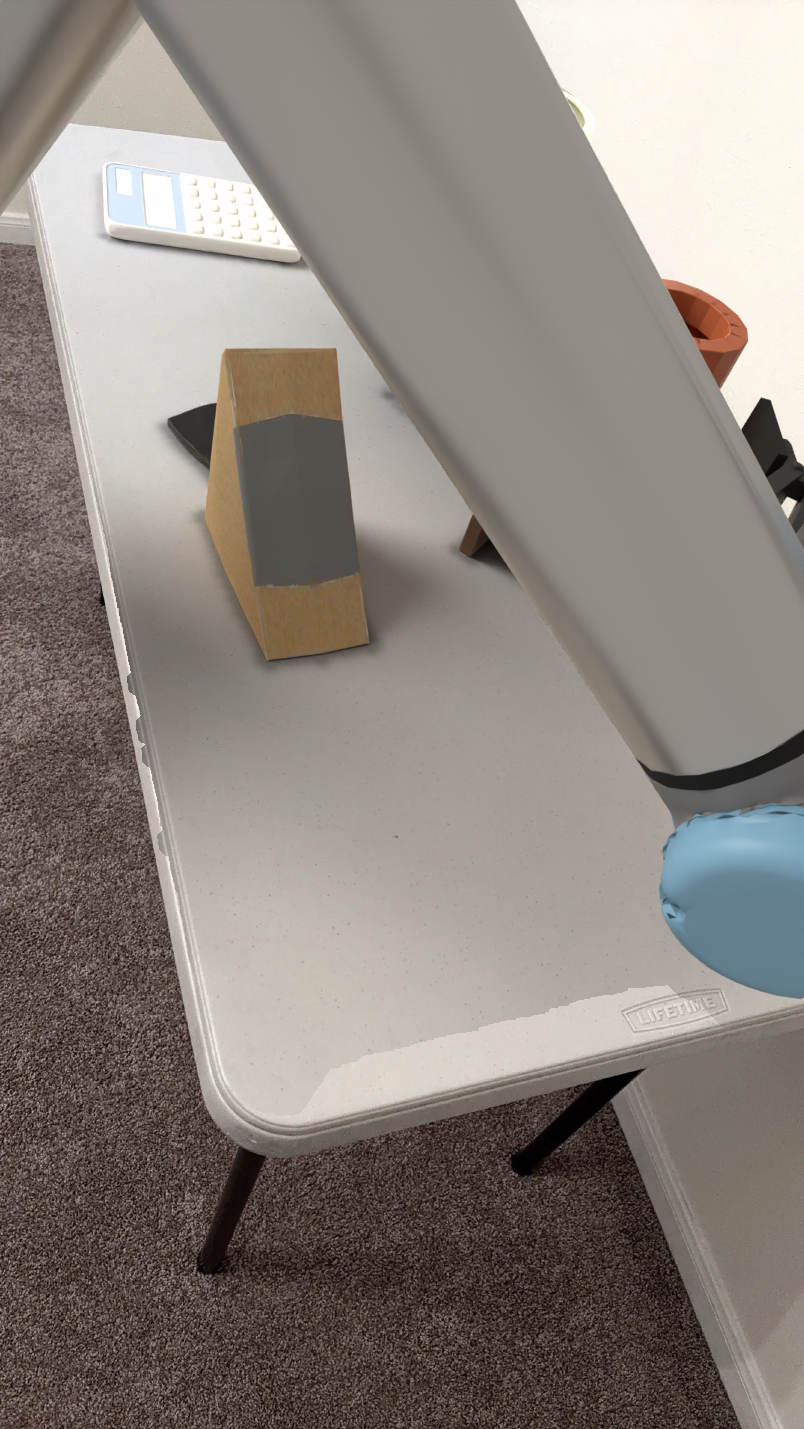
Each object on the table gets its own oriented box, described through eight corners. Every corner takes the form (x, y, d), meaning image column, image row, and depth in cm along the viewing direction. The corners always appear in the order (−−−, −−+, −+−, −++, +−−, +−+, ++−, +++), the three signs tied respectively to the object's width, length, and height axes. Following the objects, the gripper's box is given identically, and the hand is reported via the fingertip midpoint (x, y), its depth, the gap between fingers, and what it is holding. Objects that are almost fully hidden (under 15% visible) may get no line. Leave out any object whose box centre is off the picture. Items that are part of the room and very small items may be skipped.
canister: (545, 447, 75) (609, 302, 66) (593, 404, 80) (658, 265, 71) (643, 507, 73) (723, 367, 64) (685, 459, 79) (764, 324, 70)
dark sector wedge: (347, 448, 87) (350, 433, 86) (215, 487, 79) (217, 471, 78) (293, 393, 90) (296, 378, 89) (162, 425, 82) (163, 409, 81)
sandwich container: (263, 663, 69) (298, 500, 58) (199, 516, 77) (219, 346, 65) (372, 645, 73) (426, 488, 62) (301, 506, 81) (337, 343, 69)
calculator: (301, 266, 104) (305, 249, 102) (104, 238, 98) (104, 219, 96) (286, 203, 112) (288, 186, 110) (102, 174, 105) (102, 155, 104)
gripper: (476, 603, 56) (479, 392, 69) (868, 691, 60) (799, 475, 73) (521, 501, 50) (514, 293, 64) (951, 606, 54) (859, 389, 67)
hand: (666, 390), depth 68 cm, fingers open, 13 cm apart
